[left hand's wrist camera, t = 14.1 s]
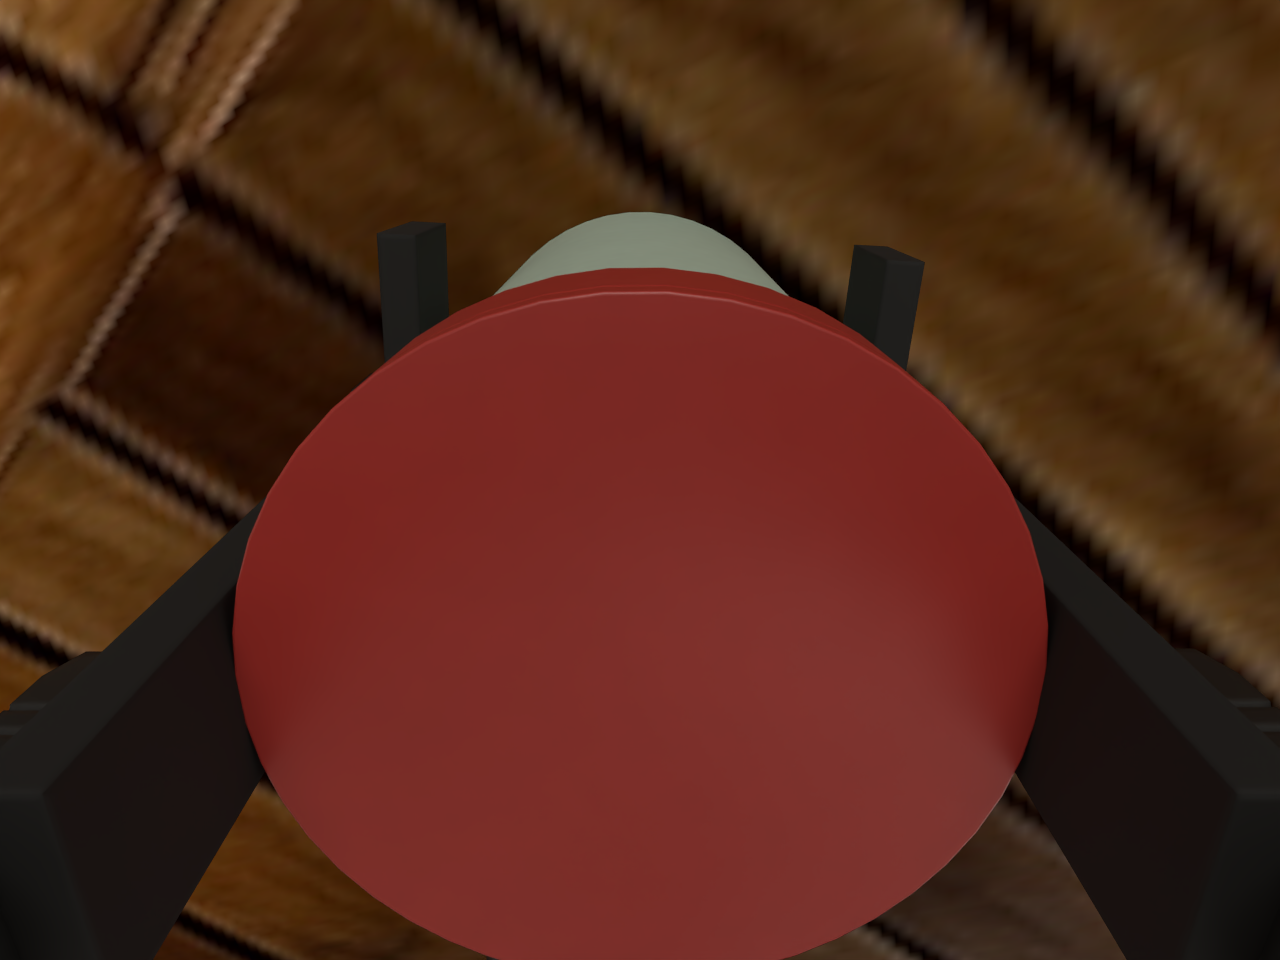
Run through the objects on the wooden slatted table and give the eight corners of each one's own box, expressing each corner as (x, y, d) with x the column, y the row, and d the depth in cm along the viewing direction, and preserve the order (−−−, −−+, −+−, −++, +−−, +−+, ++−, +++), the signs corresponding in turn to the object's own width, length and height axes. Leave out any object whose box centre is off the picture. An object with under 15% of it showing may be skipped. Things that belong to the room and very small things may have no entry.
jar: (776, 520, 27) (929, 949, 13) (488, 505, 27) (311, 924, 12) (814, 221, 24) (1084, 342, 9) (484, 202, 23) (235, 295, 9)
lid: (921, 893, 14) (960, 996, 12) (320, 868, 14) (276, 968, 12) (1067, 289, 10) (1150, 317, 9) (250, 243, 10) (171, 263, 8)
